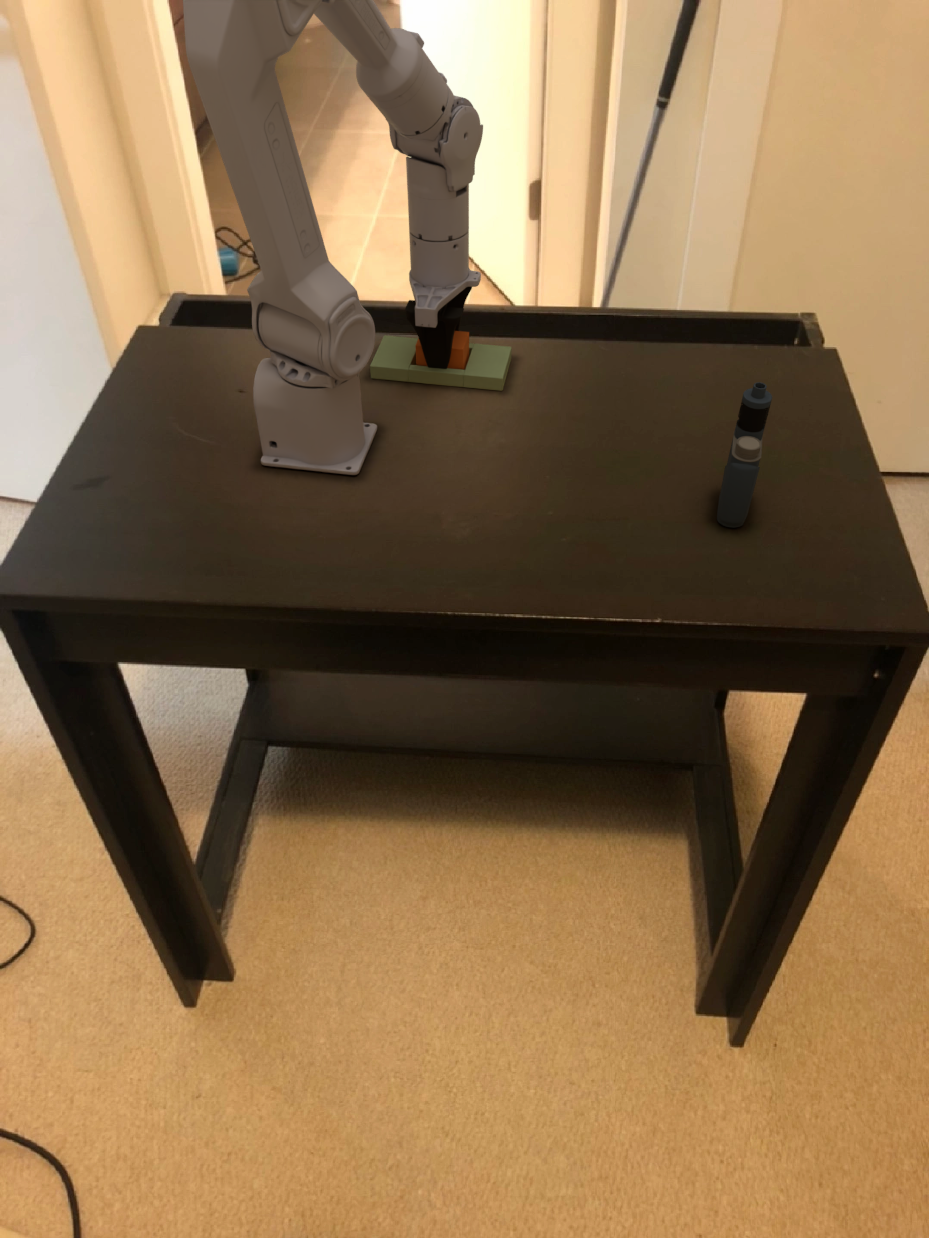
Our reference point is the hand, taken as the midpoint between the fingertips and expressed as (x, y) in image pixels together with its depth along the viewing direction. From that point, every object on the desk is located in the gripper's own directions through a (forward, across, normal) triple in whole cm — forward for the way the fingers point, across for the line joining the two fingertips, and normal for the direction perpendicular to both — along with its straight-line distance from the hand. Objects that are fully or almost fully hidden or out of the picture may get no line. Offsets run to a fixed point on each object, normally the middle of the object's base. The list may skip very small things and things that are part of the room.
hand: (441, 356), depth 103 cm
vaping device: (+2, -19, -30) cm, 36 cm away
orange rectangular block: (+1, 0, 0) cm, 1 cm away
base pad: (+2, 0, 0) cm, 2 cm away
